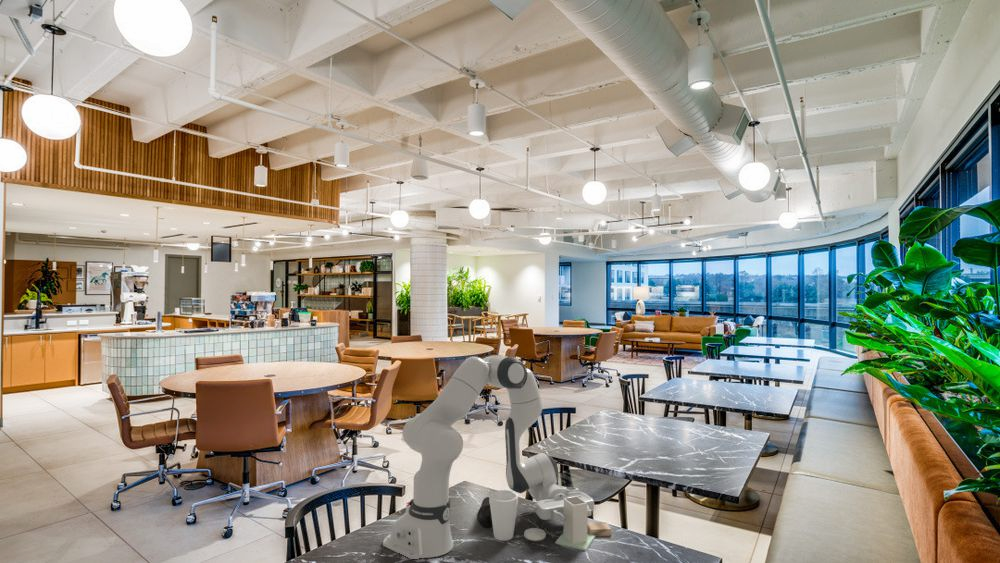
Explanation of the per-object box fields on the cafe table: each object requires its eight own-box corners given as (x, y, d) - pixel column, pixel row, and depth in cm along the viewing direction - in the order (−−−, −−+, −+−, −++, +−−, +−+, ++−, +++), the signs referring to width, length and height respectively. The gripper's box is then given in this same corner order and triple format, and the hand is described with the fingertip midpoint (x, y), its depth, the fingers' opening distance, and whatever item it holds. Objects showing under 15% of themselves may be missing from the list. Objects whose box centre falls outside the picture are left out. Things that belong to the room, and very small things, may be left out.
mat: (555, 543, 159) (555, 541, 159) (566, 530, 167) (566, 528, 167) (585, 551, 154) (585, 549, 154) (595, 537, 163) (595, 535, 163)
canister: (563, 535, 162) (563, 498, 163) (577, 533, 164) (577, 495, 165) (573, 544, 157) (573, 505, 157) (587, 541, 159) (587, 502, 159)
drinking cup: (489, 488, 184) (489, 506, 164) (503, 505, 183) (504, 525, 163) (473, 502, 183) (471, 522, 163) (487, 519, 183) (486, 540, 163)
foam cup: (515, 544, 158) (515, 502, 159) (486, 541, 160) (486, 500, 160) (519, 530, 167) (519, 491, 168) (492, 528, 169) (493, 489, 170)
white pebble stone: (520, 538, 162) (520, 535, 162) (529, 530, 169) (529, 526, 169) (540, 543, 159) (540, 539, 159) (548, 534, 165) (548, 530, 166)
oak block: (590, 537, 164) (590, 529, 164) (586, 530, 169) (586, 522, 169) (611, 536, 164) (611, 529, 164) (606, 529, 169) (606, 522, 169)
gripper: (529, 495, 169) (548, 511, 156) (580, 486, 177) (603, 501, 164) (528, 514, 169) (548, 531, 156) (580, 504, 177) (603, 520, 164)
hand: (577, 516), depth 160 cm, fingers open, 8 cm apart
